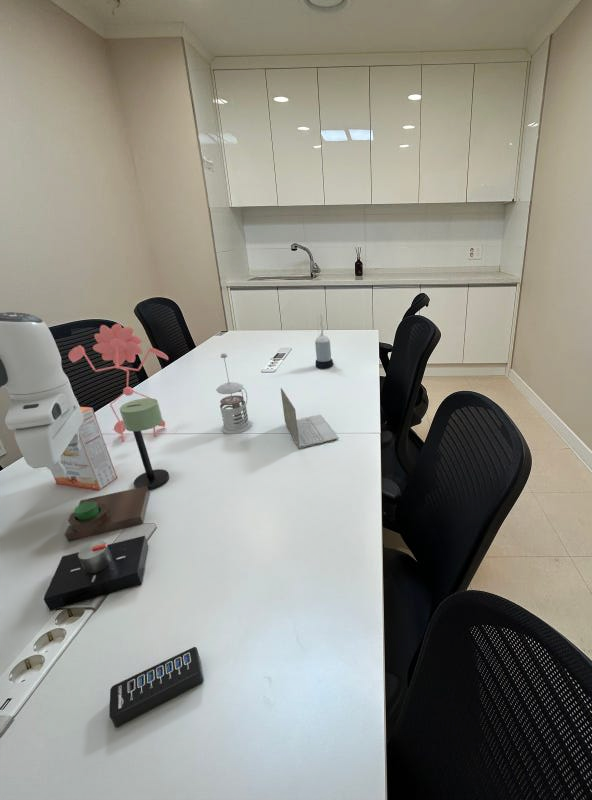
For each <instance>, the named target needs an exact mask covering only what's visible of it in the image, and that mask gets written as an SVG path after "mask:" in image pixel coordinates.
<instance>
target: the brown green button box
mask: <svg viewBox="0 0 592 800" xmlns="http://www.w3.org/2000/svg"><path fill="white" fill-rule="evenodd" d="M150 494H151V492H150V491H149V488H148V486H145V487H140V488H135V487H134V488H131V489H127V490H122V491H117V492H112V493H108V494H103V495H99V496H94V497H89V498H84V499H81V500H80V501H79V503H78V505H80V504H82V503H85V502H88V501H95V502H96V503H97V505H98V508H99V513H98V514H97V515H96V516H95V517H92V518H90V519H88V520H84V521H79V520H78V519H77V517H76V515H75V512H74V511H73V513H71V514H70V515H69V518H68V519H67V523H68V527H67V528H66V531H65V533H64V537H65V538H66V541H67V542H68V543H70V542H74V541H78V540H83V539H86V538H90V537H94V536H95V537H96V536H98V535H103V534H108V533H111V532H115V531H119V530H124V529H127V528H132V527H135V526H140V525H144V522H145V519H146V518H145V517H146V512H147V508H148V504H149V498H150Z"/></svg>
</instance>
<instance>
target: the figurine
mask: <svg viewBox="0 0 592 800" xmlns="http://www.w3.org/2000/svg"><path fill="white" fill-rule="evenodd" d="M133 334H134V329H133V328H132V327H130V326H124V327H122V324H121V323H115V324H113V325H112V326H111V328H110V327H109V326H107V325H105V324H101V325H100V327H99V333H95V334H94V340H95V341H96V342H97V343H96V344H94V345H93V346H92V349H93V351H95V352H97V353H99V354H101V358H102V361H106V362H107V361H112V363H113V364H114V365H112V366H109V367H104V368H103V367H102V368H98V369H96V368H95V366H94V365H93V363H92V361H91V360H90V358H89V357H88V355H87V354H86V350H85V347H83V346H82V345H77V346H75V347H73V348H72V349H71V350H70V351H69V352H68V359H69V360H70V361H71V362H72V363H73V364H74V363H76V362H77V361H80V360H81V359H82V358H83V357H85V359H86V361H87V363H88V364H89V366H90V367H91V369H92V370H93V371H94V373H97V372H101V371H106V370H110V369H111V370H112V369H120V370H123V371H125V372H126V387H124V388H123V389H122V393H121V394H120V395H119V396H118V397H117V398H115V399H114V400H112V401H111V403H109V406H110V408H111V410H112V412H113V414H114V415H115V417H116V419H117V422H116V423H115V424H114V426H113V429H112V431H114V432H115V433H117V434H120V435H121V437H120V438H121V442H125V436H124V432H125V431H127V430H126V428H125V425H124V422H123V419H121V420H120V418H119V416H118V414H117V413H116V410H115V409H114V406H113V405H112V404H114V403H115V402H116V401H117V400H119V399H120V398H121V397H123V395H124V396H126V397H127V396H128V397H129V396H132V395H133V394H134V393H135V394H137V395H139V396H142V397H144V398H150V397H149V396H147V395H145V394H142V393H140V392H137V391H135V390H134V389H133V388H132V387H130V386H129V380H130V379H129V378H130V371H134V372H135V371H136V372H140V370H141V369H142V367H143V365H144V363H145V362H146V360H147V358H148V356H149V355H150V353H152V354H154V355H155V356H157V357H159V358H162V359H164V360H166V361H169V356H168V355H167V354H166V353H164V352H163V351H161V350H159V349H157V348H154V347H151V346H149V347H148V350H147V352H146V354H145V355H144V357H143V359H142V361H141V363H140V365H139V366H138V368H133V367H126V366H121V365H123V364H124V363H125V361H126V362H128V363H135V361H136V355H142V354H143V350H142V348H141V347H140V344H141V343H142V339H141V338H140V337H139V336H137V335H133ZM162 419H163V421H162V422H161V423H160V424H159V425H157V427H163V428H164V427H165V426H166V421H165V420H164V418H163V417H162ZM152 429H153V430H152V431H153V436H154V437H157V432H156V427H153V428H152ZM176 433H177V430H176V432H174V434H176Z"/></svg>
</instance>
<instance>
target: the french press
mask: <svg viewBox="0 0 592 800" xmlns="http://www.w3.org/2000/svg"><path fill="white" fill-rule="evenodd" d="M220 358H221V359H223V360H224V365H225V371H226V377H227V382H225V383H223V384H221V385H219V386H218V387H217V388H216V390H215V391H216V392H217V393H218V394H221V395H228V396H225V397H223V398H222V399H221V400H220V406H219V408H220V414H221V417H222V424H223V425H222V426H221V432H222V433H223V434H227V435H235V434H241V433H243V432H247V431H248V430H250V429H251V428H252V427H253V422H252V421H250V420H249V416H248V410H247V404H248V393H247V390H246V389H245V388H244V385H243V384H242V383H239V382H236V381H235V382H234V381H230V379H229V374H228V369H227V363H226V358H228V355H227V353H221V354H220ZM243 390H244V392H245V397H246V400H245V398H244V393H243ZM240 392H241V395H233V394H236V393H240Z"/></svg>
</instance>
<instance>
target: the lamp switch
mask: <svg viewBox="0 0 592 800" xmlns="http://www.w3.org/2000/svg"><path fill="white" fill-rule="evenodd" d="M74 512H75V515H76V517H77V519H78V520H79V521H84V520H88V519H90V518H92V517H95V516H96V515H97V514H98V513H99V508H98V505H97V503H96V502H95V501H88V502H85V503H82V504H80V505H79V504H78V505H77V506H76V507H75V508H74V510H73V513H74Z"/></svg>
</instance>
